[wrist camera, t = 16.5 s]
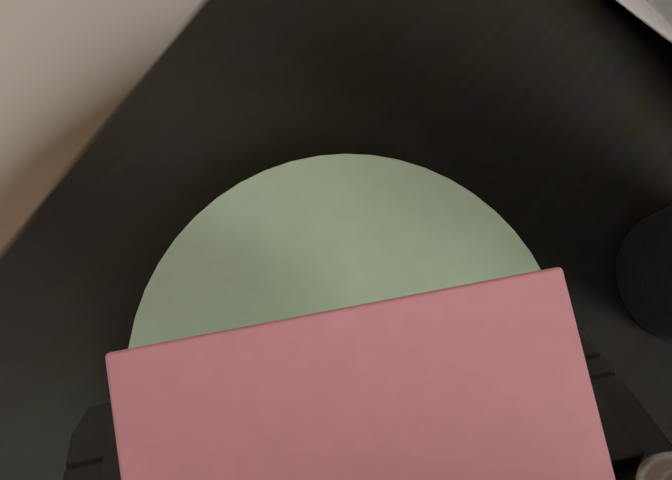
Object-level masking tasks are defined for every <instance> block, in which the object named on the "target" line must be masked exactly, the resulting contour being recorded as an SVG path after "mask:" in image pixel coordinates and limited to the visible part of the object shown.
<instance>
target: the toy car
mask: <svg viewBox="0 0 672 480" xmlns="http://www.w3.org/2000/svg"><path fill="white" fill-rule="evenodd" d="M616 1H617V2H618V3H619V4H621V5H622V6H623V7H625V8H626V9H627V10H628V11H630V12H631V13H632V14H634V15H635V16H636V17H637V18H639V19H640V20H641V21H643V22H644V23H645V24H647V25H648V26H649V27H651V28H652V29H653V30H655V31H656V32H657V33H659V34H660V35H661V36H663V37H664V38H665V39H667V40H668V41H669V42H671V43H672V0H616Z"/></svg>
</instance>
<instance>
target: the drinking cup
mask: <svg viewBox="0 0 672 480" xmlns="http://www.w3.org/2000/svg"><path fill="white" fill-rule="evenodd" d="M616 280H617V285H618V289H619V293H620V296H621V298H622V300H623V302H624V304H625V306H626V308H627V309H628V311H629V312H630V314H631V315H632V316H633V318H634V319H635V320H636V321H637V322H638V323H639V324H640V325H641V326H642V327H644V328H645V329H646V330H647V331H649V332H650V333H652V334H654V335H655V336H657V337H659V338H662V339H664V340H667V341H671V342H672V205H670V206H668V207H666V208H664V209H662V210H660V211H658V212H656V213H654V214H652V215H650V216H648V217H646V218H644V219H643V220H641V221H640V222H638V223H637V224H636V225H635V226H634V227H633V228H632V229H631V230H630V231H629V232H628V233H627V235H626V236H625V238H624V240H623V242H622V244H621V246H620V249H619V252H618V255H617V261H616Z"/></svg>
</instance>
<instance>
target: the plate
mask: <svg viewBox="0 0 672 480" xmlns="http://www.w3.org/2000/svg"><path fill="white" fill-rule="evenodd" d="M539 270H541V269H540V267H539V265H538V264H537V262H536V260H535V258H534V257H533V255H532V253H531V252H530V250H529V249H528V248H527V247H526V245H525V244H524V243H523V241H522V240H521V239H520V237H519V236H518V235H517V233H516V232H515V231H514V230H513V229H512V228H511V227H510V226H509V225H508V224H507V223H506V221H505V220H504V219H503V218H502V217H501V216H500V215H499V214H498V213H497V212H496V211H495V210H494V209H492V208H491V207H490V206H489V205H487V204H486V203H485V202H484V201H482V200H481V199H480V198H479V197H477V196H476V195H475V194H474V193H472V192H470V191H469V190H467V189H465V188H464V187H462V186H461V185H459V184H457V183H456V182H454V181H452V180H451V179H449V178H447V177H444V176H442V175H440V174H438V173H436V172H433V171H431V170H429V169H427V168H424V167H421V166H418V165H415V164H411V163H408V162H405V161H402V160H398V159H393V158H387V157H381V156H376V155H364V154H333V155H320V156H314V157H309V158H304V159H299V160H295V161H290V162H287V163H284V164H281V165H279V166H276V167H273V168H270V169H267V170H264V171H262V172H260V173H258V174H256V175H254V176H252V177H250V178H248V179H246V180H244V181H242V182H240V183H238V184H237V185H235V186H234V187H232V188H231V189H229V190H228V191H226V192H225V193H223V194H222V195H220V196H219V197H217V198H216V199H215V200H214V201H212V202H211V203H210V204H209V205H208V206H207V207H205V208H204V209H203V210H202V211H201V212H200V213H199V214H197V215H196V216H195V217H194V218H193V219H192V220H191V221H190V223H189V224H188V225H187V226H186V227H185V228H184V229H183V230H182V232H181V233H180V234H179V235H178V236H177V237H176V238H175V240H174V241H173V242H172V244H171V245H170V247H169V248H168V250H167V251H166V253H165V254H164V256H163V257H162V259H161V260H160V261H159V263H158V265H157V267H156V269H155V271H154V273H153V275H152V277H151V279H150V280H149V282H148V284H147V286H146V288H145V291H144V293H143V296H142V299H141V302H140V305H139V307H138V310H137V313H136V316H135V319H134V324H133V328H132V333H131V337H130V342H129V347H128V349H130V348H135V347H140V346H145V345H151V344H156V343H161V342H166V341H172V340H177V339H182V338H187V337H193V336H198V335H203V334H208V333H214V332H219V331H224V330H229V329H235V328H240V327H245V326H250V325H256V324H261V323H266V322H271V321H277V320H282V319H287V318H292V317H298V316H303V315H308V314H313V313H319V312H324V311H329V310H334V309H339V308H345V307H350V306H355V305H360V304H366V303H371V302H376V301H381V300H387V299H392V298H397V297H402V296H408V295H413V294H418V293H423V292H429V291H434V290H439V289H444V288H450V287H455V286H460V285H465V284H471V283H476V282H481V281H486V280H492V279H497V278H502V277H507V276H513V275H518V274H523V273H528V272H534V271H539Z"/></svg>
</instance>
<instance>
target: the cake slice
mask: <svg viewBox="0 0 672 480" xmlns="http://www.w3.org/2000/svg"><path fill="white" fill-rule="evenodd" d="M105 360H106V368H107V376H108V383H109V391H110V399H111V406H112V414H113V422H114V429H115V437H116V445H117V453H118V460H119V468H120V476H121V480H616V479H615V475H614V471H613V467H612V463H611V459H610V456H609V452H608V448H607V444H606V440H605V436H604V432H603V428H602V424H601V420H600V416H599V412H598V408H597V404H596V400H595V396H594V392H593V388H592V384H591V380H590V376H589V372H588V368H587V364H586V360H585V357H584V353H583V349H582V345H581V341H580V337H579V333H578V329H577V325H576V321H575V317H574V313H573V309H572V305H571V301H570V297H569V293H568V289H567V285H566V281H565V277H564V273H563V270H562V268H560V267H555V268H549V269H544V270H539V271H534V272H528V273H523V274H518V275H513V276H507V277H502V278H497V279H492V280H486V281H481V282H476V283H471V284H465V285H460V286H455V287H450V288H444V289H439V290H434V291H429V292H423V293H418V294H413V295H408V296H402V297H397V298H392V299H387V300H381V301H376V302H371V303H366V304H360V305H355V306H350V307H345V308H339V309H334V310H329V311H324V312H319V313H313V314H308V315H303V316H298V317H292V318H287V319H282V320H277V321H271V322H266V323H261V324H256V325H250V326H245V327H240V328H235V329H229V330H224V331H219V332H214V333H208V334H203V335H198V336H193V337H187V338H182V339H177V340H172V341H166V342H161V343H156V344H151V345H145V346H140V347H135V348H130V349H124V350H119V351H114V352H109V353H107V354H106V357H105Z"/></svg>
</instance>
